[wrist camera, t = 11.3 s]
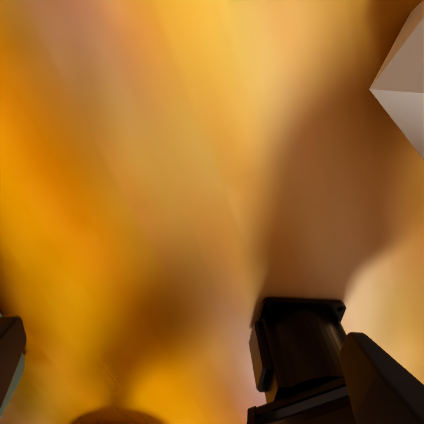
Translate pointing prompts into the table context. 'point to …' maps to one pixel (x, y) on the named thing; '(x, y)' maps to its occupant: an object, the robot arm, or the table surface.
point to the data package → (13, 382)
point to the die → (405, 80)
